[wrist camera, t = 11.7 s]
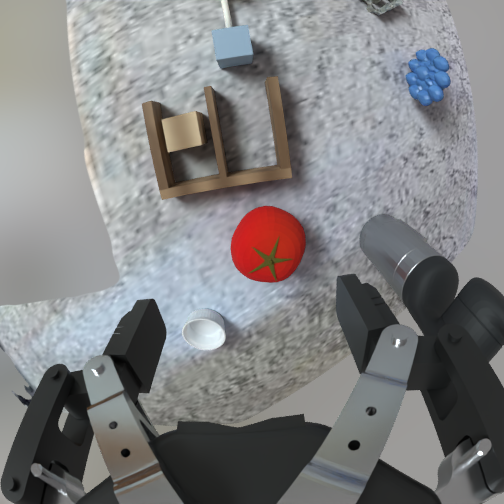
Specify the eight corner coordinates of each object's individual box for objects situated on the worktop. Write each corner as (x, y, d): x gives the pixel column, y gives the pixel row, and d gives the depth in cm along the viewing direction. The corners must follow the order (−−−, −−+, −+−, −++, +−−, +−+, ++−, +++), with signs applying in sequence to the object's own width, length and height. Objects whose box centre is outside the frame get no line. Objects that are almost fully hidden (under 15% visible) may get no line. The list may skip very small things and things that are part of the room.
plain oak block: (202, 113, 39) (195, 111, 34) (207, 142, 41) (201, 144, 36) (172, 120, 39) (161, 119, 34) (177, 149, 41) (168, 152, 36)
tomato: (224, 253, 50) (220, 285, 40) (245, 190, 45) (246, 208, 35) (282, 270, 52) (290, 304, 42) (308, 211, 47) (324, 234, 37)
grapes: (421, 114, 38) (463, 118, 28) (393, 100, 38) (433, 98, 27) (429, 63, 33) (469, 57, 23) (401, 47, 33) (439, 35, 22)
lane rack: (274, 81, 37) (277, 76, 33) (287, 172, 44) (292, 177, 40) (151, 105, 38) (141, 103, 34) (169, 192, 44) (161, 199, 40)
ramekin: (227, 337, 59) (226, 351, 55) (187, 336, 58) (184, 349, 55) (226, 306, 55) (225, 319, 51) (183, 304, 55) (179, 318, 51)
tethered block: (236, -17, 28) (235, -33, 22) (251, 63, 35) (253, 54, 30) (206, -12, 28) (202, -27, 23) (220, 68, 35) (216, 59, 30)
